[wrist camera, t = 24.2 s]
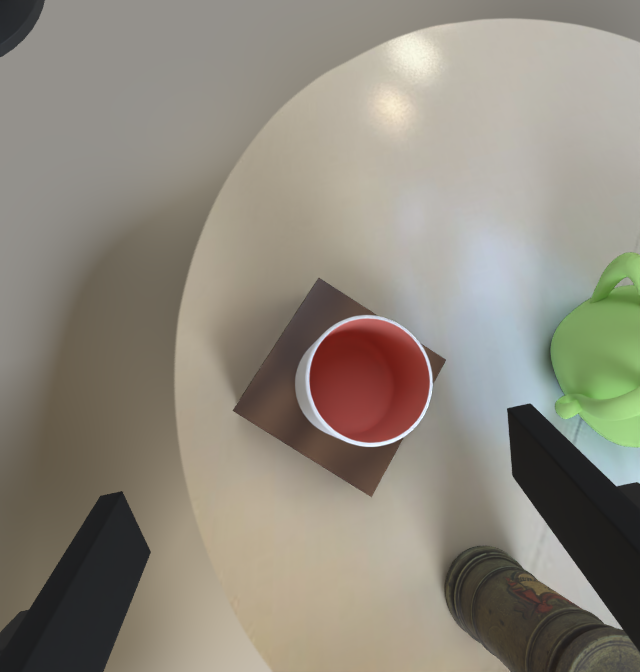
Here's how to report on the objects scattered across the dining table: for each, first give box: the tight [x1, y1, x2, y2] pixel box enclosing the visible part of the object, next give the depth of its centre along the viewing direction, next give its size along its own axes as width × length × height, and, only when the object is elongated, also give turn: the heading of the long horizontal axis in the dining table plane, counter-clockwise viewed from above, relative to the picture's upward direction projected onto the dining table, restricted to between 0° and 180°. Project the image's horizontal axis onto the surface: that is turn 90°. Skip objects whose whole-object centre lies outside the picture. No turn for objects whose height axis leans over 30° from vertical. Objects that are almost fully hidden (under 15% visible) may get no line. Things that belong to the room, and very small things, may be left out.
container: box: [445, 546, 640, 672], centre depth 38 cm, size 9×9×18 cm
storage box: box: [233, 278, 446, 496], centre depth 45 cm, size 16×16×5 cm
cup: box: [295, 315, 433, 447], centre depth 38 cm, size 10×10×10 cm
